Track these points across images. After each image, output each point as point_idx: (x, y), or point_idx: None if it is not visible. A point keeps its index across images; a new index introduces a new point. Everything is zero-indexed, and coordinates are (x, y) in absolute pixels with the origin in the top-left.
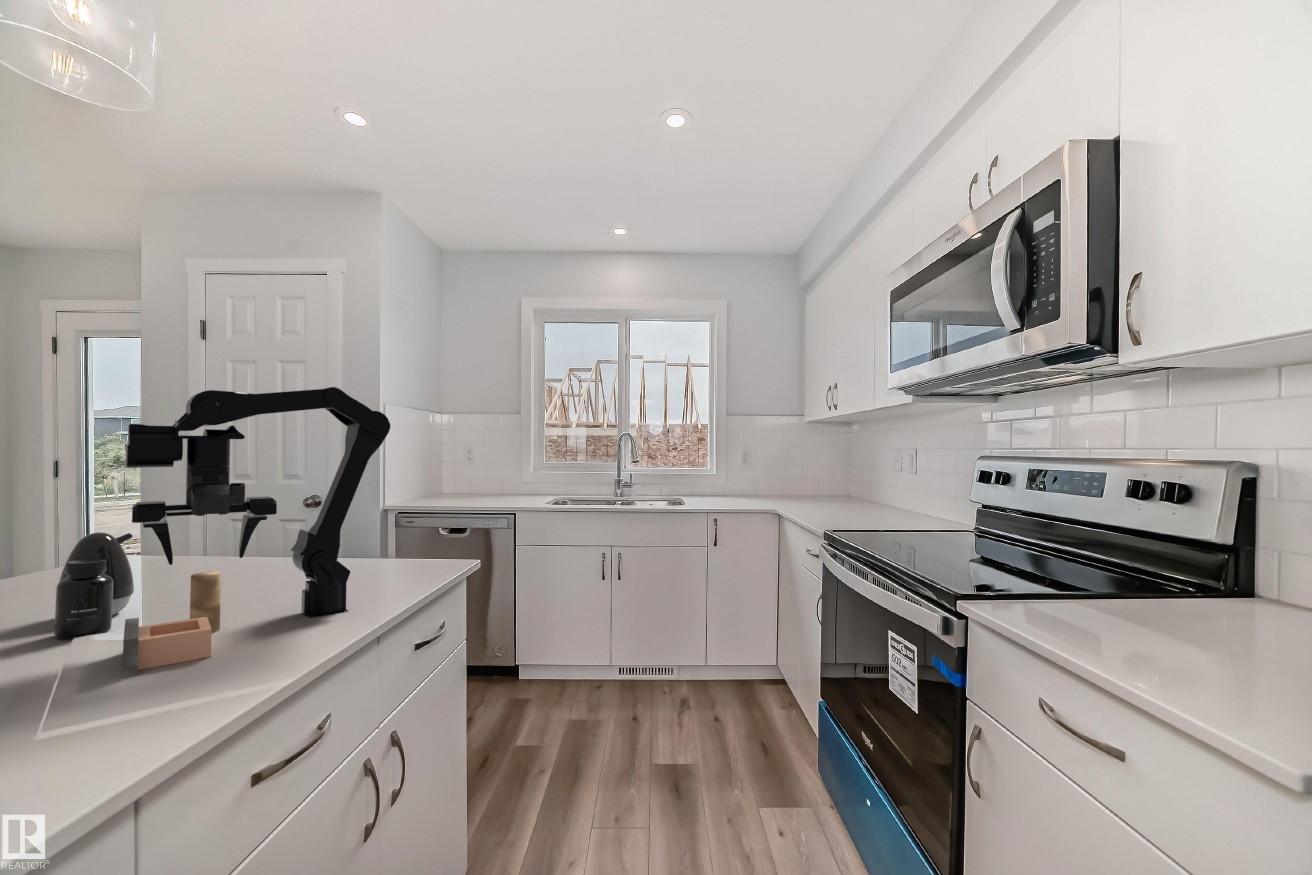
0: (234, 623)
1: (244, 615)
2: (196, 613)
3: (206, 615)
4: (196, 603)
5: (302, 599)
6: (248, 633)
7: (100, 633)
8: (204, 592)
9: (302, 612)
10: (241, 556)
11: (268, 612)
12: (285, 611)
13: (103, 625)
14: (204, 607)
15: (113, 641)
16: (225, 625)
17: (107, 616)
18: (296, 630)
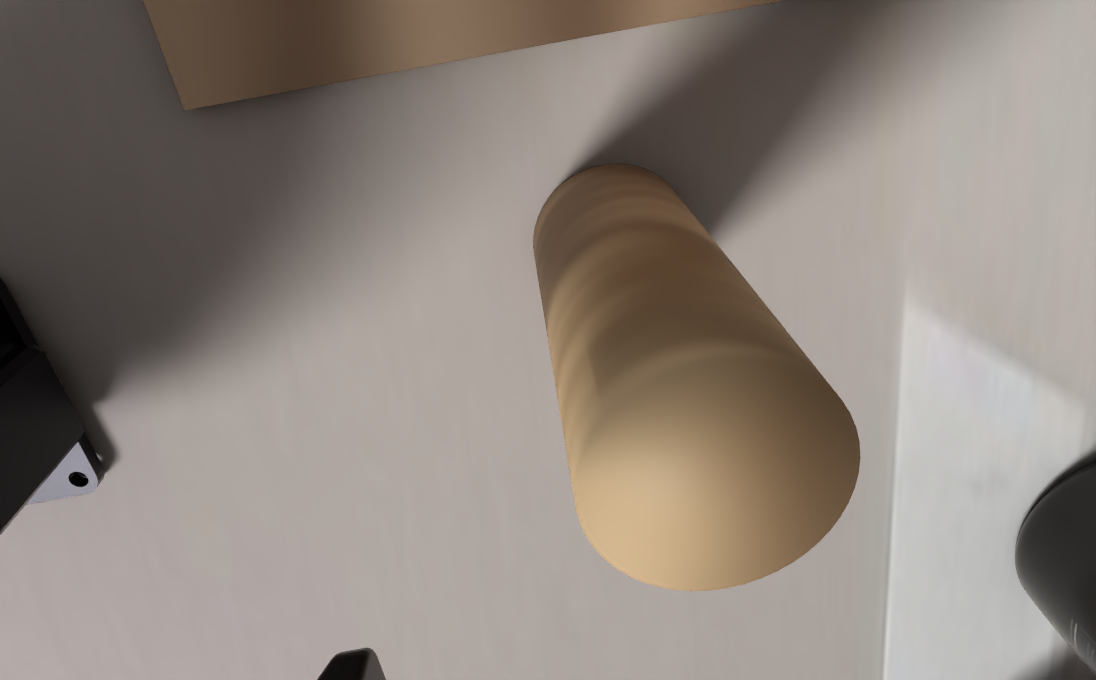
0: (475, 417)
1: (444, 553)
2: (693, 227)
3: (624, 210)
4: (717, 255)
5: (24, 462)
6: (358, 142)
7: (1059, 483)
8: (684, 276)
9: (69, 401)
10: (344, 655)
11: (324, 563)
12: (229, 549)
13: (1074, 515)
14: (651, 227)
15: (1021, 335)
16: (519, 397)
17: (1087, 560)
18: (28, 51)
